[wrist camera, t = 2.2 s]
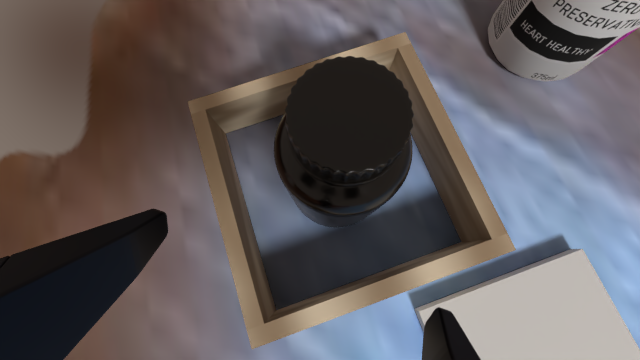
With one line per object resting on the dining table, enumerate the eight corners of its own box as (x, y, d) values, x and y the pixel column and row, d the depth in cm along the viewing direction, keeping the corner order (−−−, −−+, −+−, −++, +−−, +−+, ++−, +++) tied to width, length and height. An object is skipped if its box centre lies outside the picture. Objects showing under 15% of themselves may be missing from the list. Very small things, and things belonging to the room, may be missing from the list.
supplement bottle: (280, 214, 22) (225, 169, 10) (306, 133, 23) (286, 12, 12) (369, 241, 21) (421, 226, 9) (390, 155, 23) (458, 52, 11)
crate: (266, 330, 20) (251, 349, 16) (210, 126, 24) (187, 101, 20) (480, 250, 21) (515, 249, 17) (392, 67, 24) (405, 32, 21)
